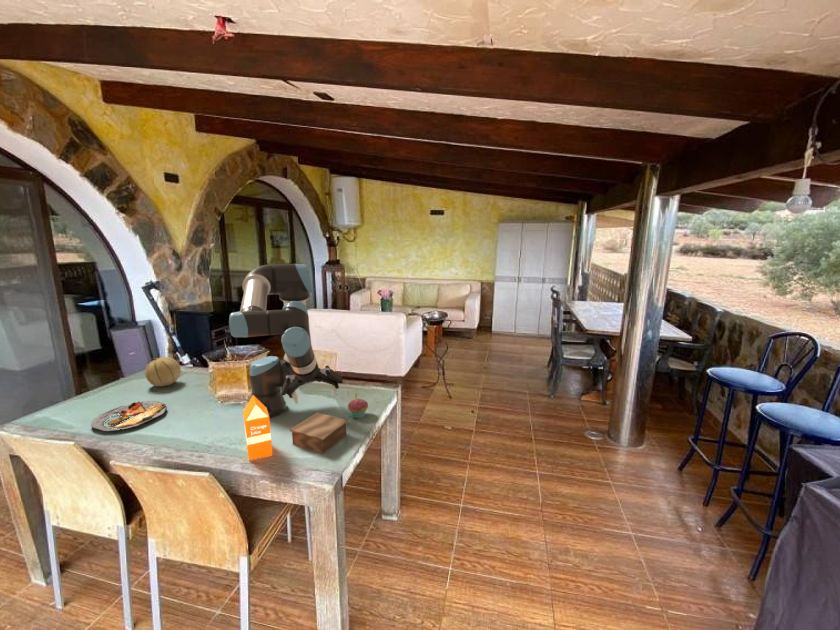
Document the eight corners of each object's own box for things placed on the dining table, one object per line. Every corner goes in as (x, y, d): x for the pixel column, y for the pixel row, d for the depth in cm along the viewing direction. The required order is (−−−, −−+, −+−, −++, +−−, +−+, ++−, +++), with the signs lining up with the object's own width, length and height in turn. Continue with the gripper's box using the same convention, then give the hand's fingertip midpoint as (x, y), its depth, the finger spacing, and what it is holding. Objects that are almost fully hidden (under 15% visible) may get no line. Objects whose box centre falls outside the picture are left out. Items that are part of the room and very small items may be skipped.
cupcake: (364, 421, 158) (363, 394, 156) (344, 419, 160) (343, 392, 158) (370, 412, 167) (370, 386, 164) (352, 410, 168) (351, 384, 166)
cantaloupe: (186, 385, 194) (182, 356, 191) (152, 393, 183) (148, 363, 180) (176, 377, 204) (172, 350, 201) (143, 385, 193) (139, 357, 190)
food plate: (142, 401, 175) (140, 394, 174) (179, 410, 167) (178, 403, 166) (78, 428, 152) (77, 420, 151) (119, 440, 144) (117, 432, 143)
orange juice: (269, 443, 141) (265, 392, 137) (272, 455, 134) (268, 402, 130) (246, 448, 138) (241, 396, 134) (248, 461, 130) (243, 406, 126)
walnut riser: (290, 444, 141) (289, 429, 139) (317, 426, 154) (317, 412, 153) (323, 454, 134) (322, 439, 133) (348, 434, 148) (348, 420, 146)
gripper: (262, 383, 115) (280, 413, 132) (346, 367, 120) (353, 397, 136) (262, 362, 119) (279, 393, 136) (343, 347, 124) (350, 379, 141)
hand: (316, 395), depth 136 cm, fingers open, 13 cm apart
